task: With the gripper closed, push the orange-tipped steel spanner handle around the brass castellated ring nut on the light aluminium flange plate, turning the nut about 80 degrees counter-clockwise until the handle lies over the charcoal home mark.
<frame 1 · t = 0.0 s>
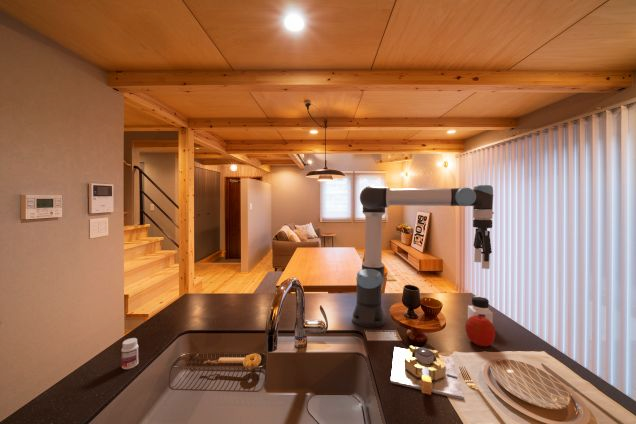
hand: (481, 265, 118), 28 cm above the worktop, fingers open, 13 cm apart
pill bottle: (130, 365, 87), on the worktop
flange plate: (423, 370, 85), on the worktop
container: (479, 326, 118), on the worktop
ring nut: (424, 367, 82), point 3 cm above the worktop, hinge at 0.0°
apple: (479, 344, 103), on the worktop
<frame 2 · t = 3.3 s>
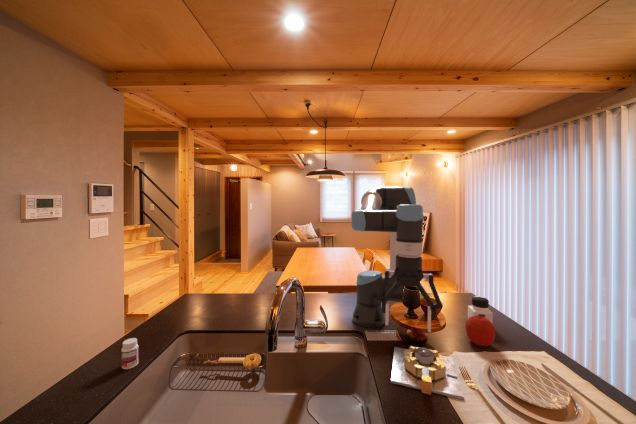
hand: (407, 326, 78), 18 cm above the worktop, fingers open, 11 cm apart
nothing on the worktop moved.
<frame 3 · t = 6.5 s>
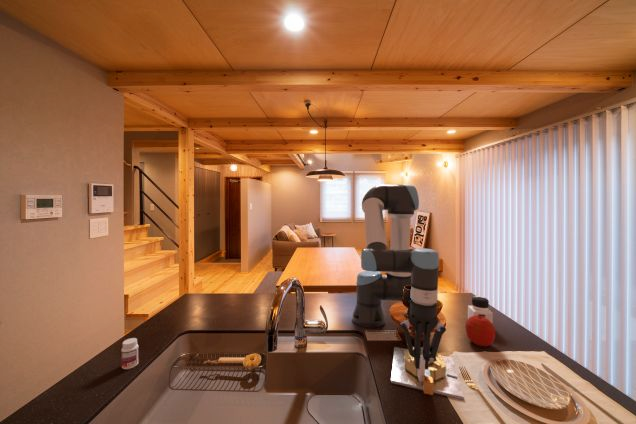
hand: (420, 378, 77), 3 cm above the worktop, fingers closed
ring nut: (425, 367, 82), point 3 cm above the worktop, hinge at 2.2°, touching gripper
everything else where it was.
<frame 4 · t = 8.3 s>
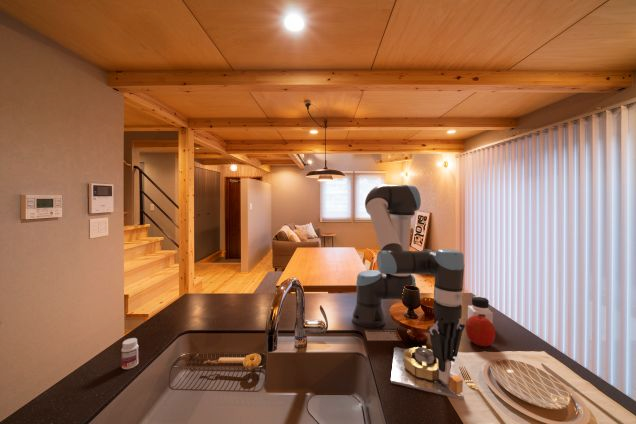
hand: (444, 380, 76), 3 cm above the worktop, fingers closed
ring nut: (432, 366, 82), point 3 cm above the worktop, hinge at 42.8°, touching gripper
everything else where it was.
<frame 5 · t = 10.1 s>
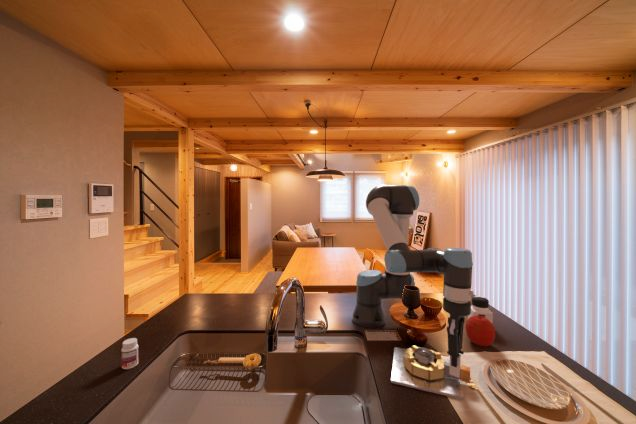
hand: (454, 374, 79), 3 cm above the worktop, fingers closed
ring nut: (435, 364, 83), point 3 cm above the worktop, hinge at 77.7°
everything else where it was.
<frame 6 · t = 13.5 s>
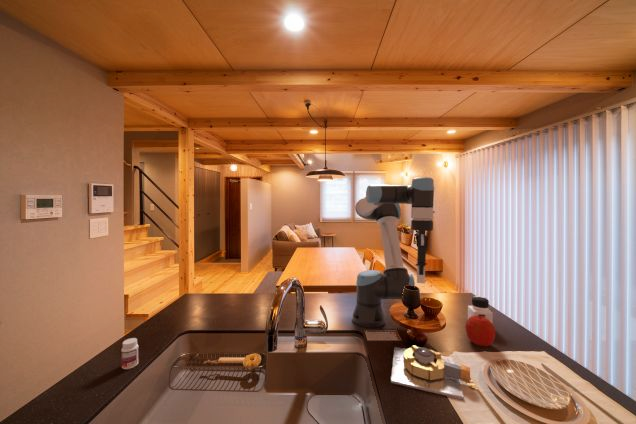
hand: (420, 282, 95), 26 cm above the worktop, fingers closed
nothing on the worktop moved.
at the end: ring nut at +78° (first picture: +0°); ring nut touching nothing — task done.
